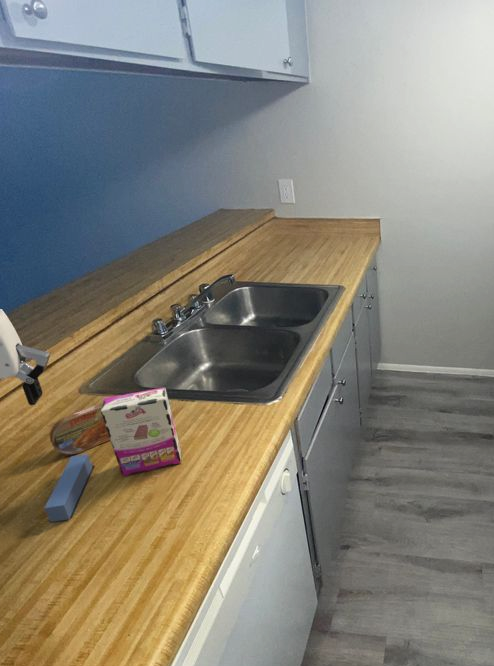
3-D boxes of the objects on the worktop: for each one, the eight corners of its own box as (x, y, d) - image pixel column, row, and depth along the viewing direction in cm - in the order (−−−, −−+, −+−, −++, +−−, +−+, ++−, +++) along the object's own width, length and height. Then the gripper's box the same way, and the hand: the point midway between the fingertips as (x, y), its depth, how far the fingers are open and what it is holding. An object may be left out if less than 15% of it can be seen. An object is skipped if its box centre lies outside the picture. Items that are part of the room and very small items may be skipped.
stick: (50, 522, 84) (44, 508, 83) (76, 469, 96) (71, 456, 94) (69, 519, 85) (63, 505, 83) (92, 467, 97) (88, 454, 95)
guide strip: (48, 521, 85) (48, 520, 85) (74, 469, 97) (74, 468, 96) (71, 517, 86) (71, 517, 85) (94, 466, 97) (94, 465, 97)
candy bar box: (181, 449, 103) (166, 385, 95) (181, 463, 99) (166, 398, 91) (123, 462, 99) (102, 396, 91) (121, 477, 95) (99, 410, 87)
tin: (59, 461, 98) (46, 429, 94) (54, 454, 100) (42, 422, 96) (135, 430, 108) (126, 399, 104) (130, 424, 110) (121, 394, 106)
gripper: (-131, 320, 63) (-79, 423, 71) (21, 313, 68) (54, 410, 76) (-96, 300, 70) (-52, 396, 78) (40, 294, 75) (69, 386, 82)
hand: (0, 403), depth 77 cm, fingers open, 9 cm apart
